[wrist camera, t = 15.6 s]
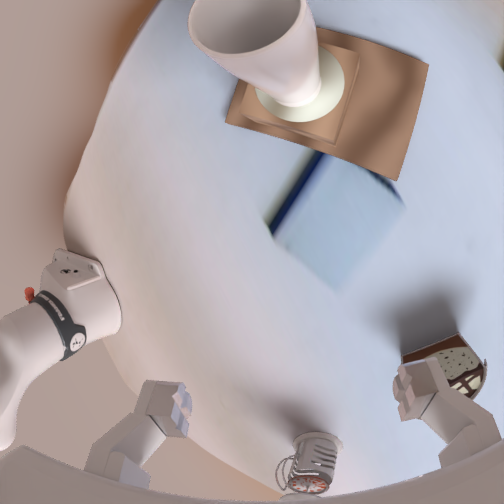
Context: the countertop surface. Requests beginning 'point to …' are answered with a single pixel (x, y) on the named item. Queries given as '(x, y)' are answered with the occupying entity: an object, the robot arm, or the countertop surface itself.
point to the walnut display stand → (346, 105)
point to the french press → (311, 465)
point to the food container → (454, 364)
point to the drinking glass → (262, 44)
